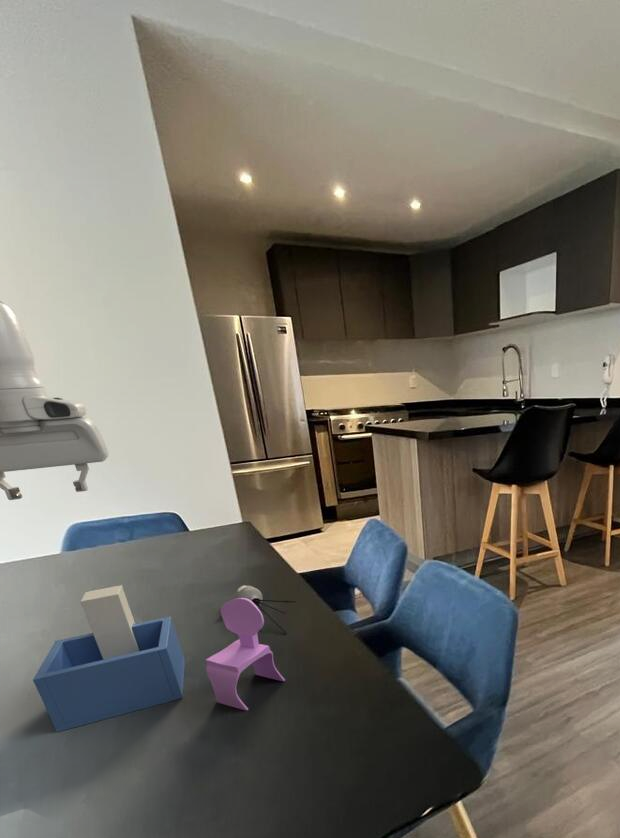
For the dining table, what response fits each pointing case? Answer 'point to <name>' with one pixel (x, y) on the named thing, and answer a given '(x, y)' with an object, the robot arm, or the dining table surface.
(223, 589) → the dining table surface
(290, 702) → the dining table surface
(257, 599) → the reed diffuser
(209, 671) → the toy chair
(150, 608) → the dining table surface
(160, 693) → the box
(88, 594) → the cream rectangular block
